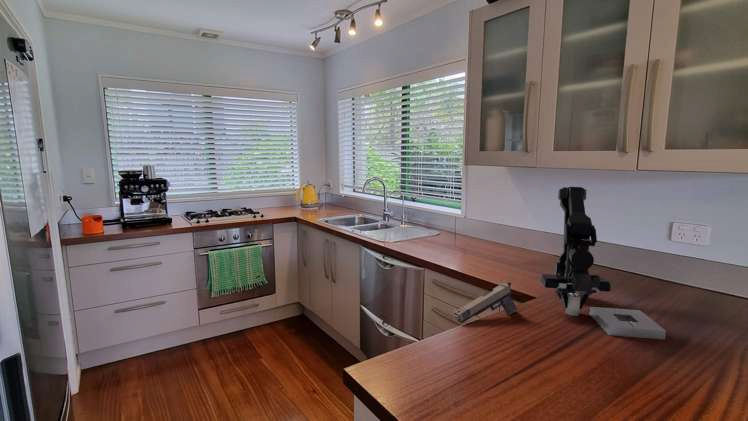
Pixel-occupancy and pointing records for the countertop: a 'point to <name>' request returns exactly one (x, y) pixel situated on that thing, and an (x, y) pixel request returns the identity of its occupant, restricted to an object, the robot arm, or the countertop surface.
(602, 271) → the countertop surface
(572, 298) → the knob
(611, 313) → the plate
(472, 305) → the toy gun
